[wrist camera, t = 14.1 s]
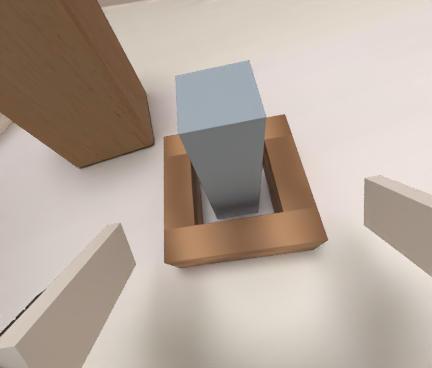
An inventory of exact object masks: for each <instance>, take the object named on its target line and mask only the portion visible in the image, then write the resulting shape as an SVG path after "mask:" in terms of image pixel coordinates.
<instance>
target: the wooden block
mask: <svg viewBox="0 0 432 368" xmlns="http://www.w3.org/2000/svg"><path fill="white" fill-rule="evenodd" d="M0 113H2V114H3V115H4V116H6V117H7V118H9V119H10V120H11V121H13V122H14V123H16V124H17V125H18V126H20V127H21V128H23V129H24V130H26V131H27V132H28V133H30V134H31V135H33V136H34V137H35V138H37V139H38V140H40V141H41V142H42V143H44V144H45V145H47V146H48V147H49V148H51V149H52V150H54V151H55V152H57V153H58V154H59V155H61V156H62V157H64V158H65V159H66V160H68V161H69V162H71V163H72V164H73V165H75V166H76V167H84V166H87V165H90V164H93V163H97V162H100V161H103V160H106V159H109V158H113V157H116V156H119V155H122V154H125V153H128V152H132V151H135V150H138V149H141V148H144V147H148V146H151V145H152V144H153V143H154V139H153V133H152V127H151V121H150V115H149V110H148V104H147V98H146V92H145V90H144V88H143V86H142V84H141V82H140V80H139V79H138V77H137V75H136V73H135V71H134V69H133V67H132V65H131V63H130V62H129V60H128V58H127V56H126V54H125V52H124V50H123V48H122V47H121V45H120V43H119V41H118V39H117V37H116V35H115V33H114V31H113V30H112V28H111V26H110V24H109V22H108V20H107V18H106V16H105V14H104V13H103V11H102V9H101V7H100V5H99V3H98V1H97V0H0Z"/></svg>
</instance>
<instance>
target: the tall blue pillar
mask: <svg viewBox="0 0 432 368" xmlns="http://www.w3.org/2000/svg"><path fill="white" fill-rule="evenodd" d="M175 81H176V100H177V119H178V135H179V137H180V139H181V141H182V143H183V145H184V148H185V150H186V152H187V154H188V156H189V158H190V160H191V163H192V165H193V167H194V169H195V171H196V173H197V176H198V178H199V180H200V182H201V184H202V186H203V189H204V191H205V193H206V195H207V197H208V199H209V201H210V204H211V206H212V208H213V210H214V212H215V214H216V217H217V219H218V218H225V217H231V216H237V215H243V214H249V213H256V212H258V206H259V195H260V183H261V172H262V161H263V149H264V138H265V127H266V114H265V111H264V108H263V104H262V101H261V98H260V94H259V91H258V88H257V84H256V81H255V78H254V74H253V71H252V68H251V64H250V61H249V60H248V61H243V62H239V63H234V64H229V65H225V66H220V67H215V68H211V69H206V70H201V71H197V72H192V73H187V74H183V75H178V76H175Z"/></svg>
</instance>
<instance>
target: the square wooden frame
mask: <svg viewBox="0 0 432 368" xmlns="http://www.w3.org/2000/svg"><path fill="white" fill-rule="evenodd" d="M262 164H263V168H264V172H265V176H266V180H267V184H268V188H269V192H270V196H271V200H272V204H273V208H274V212H275V213H274V214H267V215H261V216H254V217H248V218H241V219H234V220H228V221H221V222H215V223H208V224H203V217H202V206H201V194H200V183H199V178H198V176H197V173H196V171H195V169H194V167H193V165H192V163H191V160H190V158H189V156H188V154H187V152H186V150H185V148H184V145H183V143H182V141H181V139H180V137H179V135H178V134H177V135H171V136H166V137H164V263H166V264H169V265H172V266H176V267H179V268H182V267H190V266H197V265H204V264H212V263H219V262H226V261H233V260H241V259H248V258H255V257H263V256H270V255H277V254H285V253H292V252H299V251H306V250H314V249H315V248H317V247H318V246H320V245H321V244H323V243H324V242H326V241H327V240H328V238H327V235H326V232H325V230H324V227H323V224H322V221H321V218H320V215H319V212H318V209H317V206H316V203H315V200H314V198H313V195H312V192H311V189H310V186H309V183H308V180H307V177H306V174H305V171H304V168H303V165H302V163H301V160H300V157H299V154H298V151H297V148H296V145H295V142H294V139H293V136H292V133H291V130H290V128H289V125H288V122H287V119H286V116H285V114H284V115H278V116H273V117H268V118H266V127H265V138H264V149H263V161H262Z"/></svg>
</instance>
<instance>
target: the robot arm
mask: <svg viewBox="0 0 432 368" xmlns="http://www.w3.org/2000/svg"><path fill="white" fill-rule="evenodd" d="M364 225H365V226H366V227H367V228H369V229H370V230H371V231H372V232H374V233H375V234H376V235H378V236H379V237H380V238H382V239H383V240H384V241H386V242H387V243H388V244H390V245H391V246H392V247H393V248H395V249H396V250H397V251H399V252H400V253H401V254H403V255H404V256H405V257H407V258H408V259H409V260H411V261H412V262H413V263H414V264H416V265H417V266H418V267H420V268H421V269H422V270H424V271H425V272H426V273H428V274H429V275H430V276H432V195H430V194H427V193H425V192H422V191H420V190H417V189H414V188H412V187H409V186H407V185H404V184H401V183H399V182H396V181H394V180H391V179H388V178H386V177H383V176H381V175H379V176H373V177H368V178H365V185H364ZM135 265H136V263H135V260H134V257H133V255H132V252H131V249H130V247H129V244H128V241H127V239H126V236H125V233H124V231H123V228H122V225H121V223H118V224H112V225H107V226H106V227H105V228H104V229H103V230H102V231H101V233H100V234H99V235H98V236H97V237H96V238H95V239H94V240H93V241H92V242H91V243H90V244H89V245H88V246H87V247H86V248H85V249H84V250H83V251H82V252H81V253H80V254H79V255H78V257H77V258H76V259H75V260H74V261H73V262H72V263H71V264H70V265H69V266H68V267H67V268H66V269H65V270H64V271H63V272H62V273H61V274H60V275H59V276H58V277H57V278H56V279H55V281H54V282H53V283H52V284H51V285H50V286H49V287H48V288H47V289H45V290H44V291H43V292H41V293H40V294H39V295H37V296H36V297H35V298H34V299H33V300H32V301H31V302H30V303H29V305H28V306H27V307H26V309H25V310H23V311H22V312H21V313H20V314H19V315H18V316H17V317H16V320H13V321H12V322H11V323H10V324H9V325H8V326H7V327H6V328H5V329H4V330H3V331H2V332H1V333H0V368H82V366H83V364H84V362H85V360H86V358H87V356H88V355H89V353H90V351H91V349H92V347H93V345H94V343H95V341H96V339H97V337H98V336H99V334H100V332H101V330H102V328H103V326H104V324H105V322H106V320H107V318H108V316H109V315H110V313H111V311H112V309H113V307H114V305H115V303H116V301H117V299H118V297H119V296H120V294H121V292H122V290H123V288H124V286H125V284H126V282H127V280H128V278H129V276H130V275H131V273H132V271H133V269H134V267H135Z"/></svg>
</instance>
